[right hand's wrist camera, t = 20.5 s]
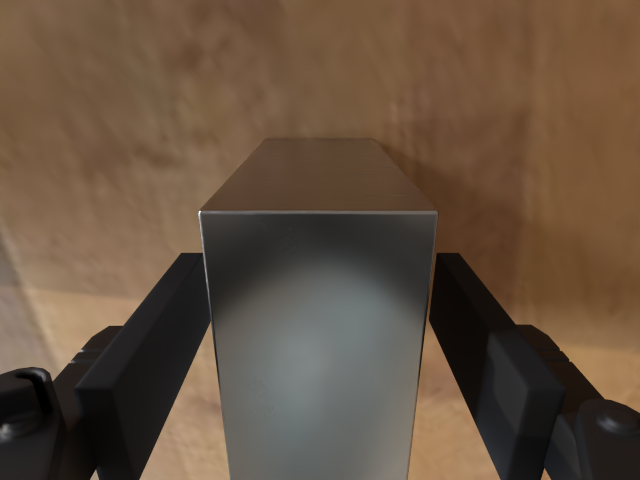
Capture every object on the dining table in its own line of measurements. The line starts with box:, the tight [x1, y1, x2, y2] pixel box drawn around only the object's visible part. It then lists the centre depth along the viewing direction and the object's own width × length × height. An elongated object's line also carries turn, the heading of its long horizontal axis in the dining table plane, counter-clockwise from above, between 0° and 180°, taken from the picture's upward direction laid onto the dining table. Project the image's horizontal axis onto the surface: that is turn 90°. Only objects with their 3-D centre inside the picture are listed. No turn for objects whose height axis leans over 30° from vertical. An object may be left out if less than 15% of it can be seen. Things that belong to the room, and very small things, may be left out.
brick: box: [198, 139, 439, 480], centre depth 14 cm, size 9×5×10 cm, turn 0°
